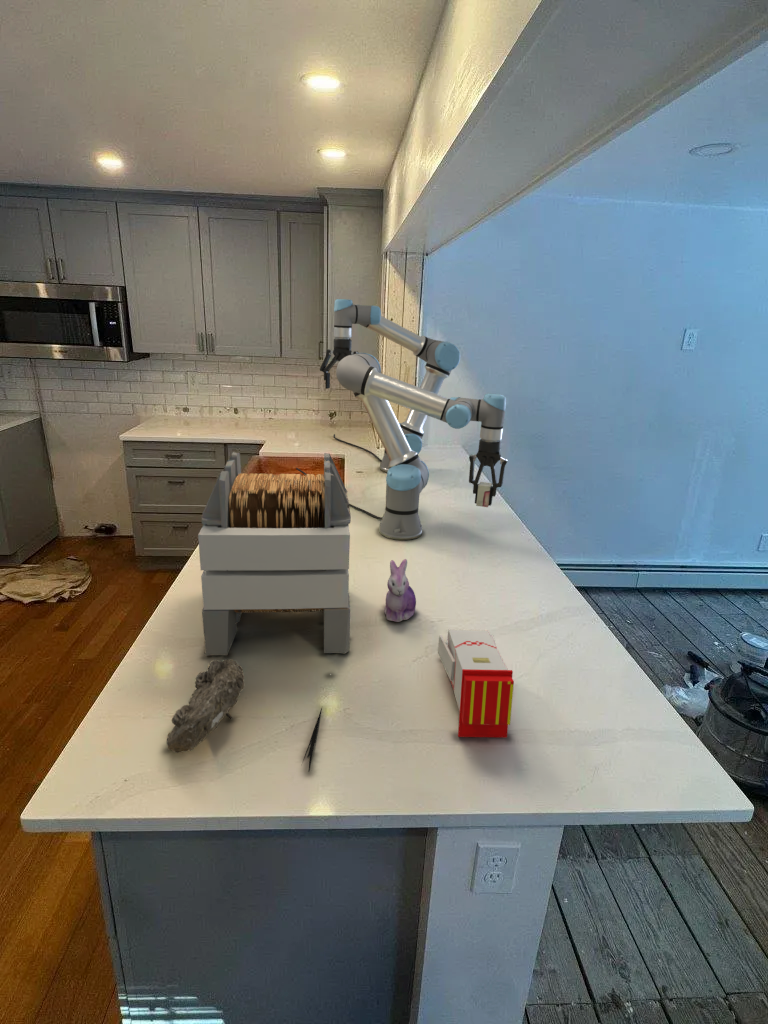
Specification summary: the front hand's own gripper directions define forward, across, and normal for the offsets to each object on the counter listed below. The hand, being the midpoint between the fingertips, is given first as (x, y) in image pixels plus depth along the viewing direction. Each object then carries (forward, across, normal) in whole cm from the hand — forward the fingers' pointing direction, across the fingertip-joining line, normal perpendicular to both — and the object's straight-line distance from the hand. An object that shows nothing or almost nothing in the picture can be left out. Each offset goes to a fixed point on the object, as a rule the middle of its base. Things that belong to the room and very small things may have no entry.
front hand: (483, 503), depth 204 cm
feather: (+10, +11, +114) cm, 115 cm away
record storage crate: (+10, +36, +84) cm, 92 cm away
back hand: (-30, +71, -34) cm, 84 cm away
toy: (+10, -14, +95) cm, 96 cm away
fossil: (+10, +30, +121) cm, 125 cm away
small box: (+1, 0, 0) cm, 1 cm away
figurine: (+10, +9, +70) cm, 71 cm away
